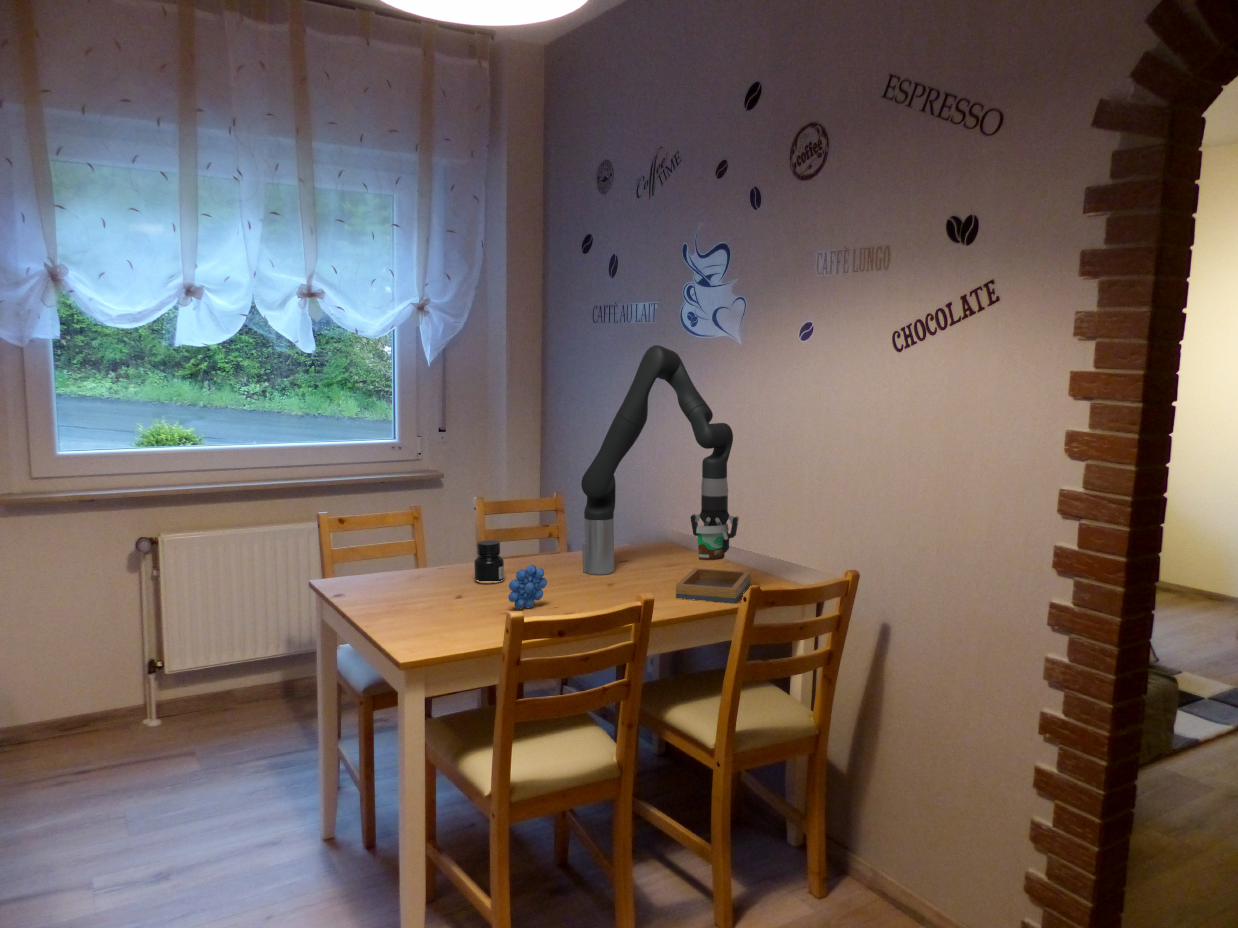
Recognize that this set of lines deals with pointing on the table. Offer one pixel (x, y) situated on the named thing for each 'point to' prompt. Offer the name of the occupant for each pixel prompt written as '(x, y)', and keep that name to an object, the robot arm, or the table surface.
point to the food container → (711, 541)
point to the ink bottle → (489, 561)
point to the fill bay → (713, 585)
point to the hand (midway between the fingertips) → (714, 550)
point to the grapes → (527, 587)
